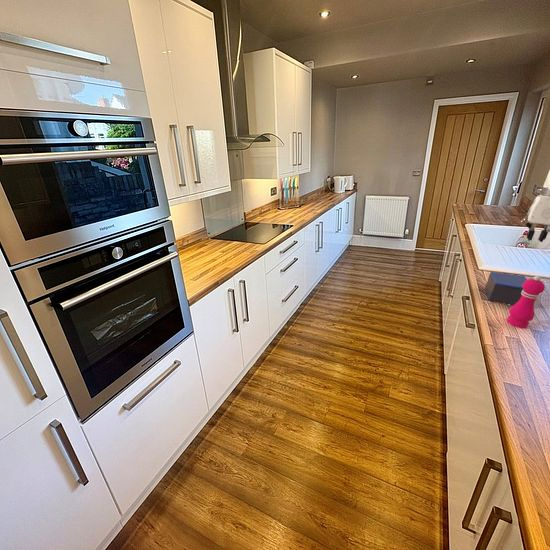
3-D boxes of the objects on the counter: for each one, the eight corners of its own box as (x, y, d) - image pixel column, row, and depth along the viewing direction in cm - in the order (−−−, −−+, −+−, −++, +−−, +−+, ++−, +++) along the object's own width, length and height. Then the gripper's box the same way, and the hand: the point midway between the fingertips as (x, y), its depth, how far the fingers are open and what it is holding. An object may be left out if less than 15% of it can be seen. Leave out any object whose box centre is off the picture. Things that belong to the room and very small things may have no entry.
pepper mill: (532, 330, 106) (555, 282, 97) (508, 326, 108) (529, 278, 100) (524, 320, 112) (546, 273, 104) (502, 316, 114) (521, 270, 106)
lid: (524, 277, 128) (524, 276, 127) (532, 290, 117) (532, 289, 116) (490, 273, 133) (490, 271, 133) (494, 284, 122) (495, 283, 122)
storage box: (515, 293, 132) (521, 278, 128) (521, 307, 121) (529, 291, 117) (484, 288, 136) (490, 273, 133) (488, 300, 125) (494, 285, 122)
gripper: (529, 192, 108) (511, 239, 116) (587, 196, 101) (564, 246, 109) (524, 190, 114) (508, 234, 122) (578, 193, 108) (557, 240, 115)
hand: (534, 239), depth 116 cm, fingers closed
